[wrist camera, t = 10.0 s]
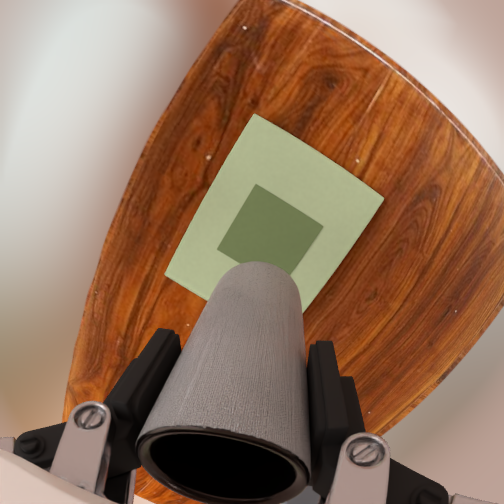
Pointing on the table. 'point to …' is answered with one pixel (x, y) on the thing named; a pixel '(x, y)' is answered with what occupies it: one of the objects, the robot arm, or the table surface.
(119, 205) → the table surface
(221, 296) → the gray hollow cylinder
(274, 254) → the mat
